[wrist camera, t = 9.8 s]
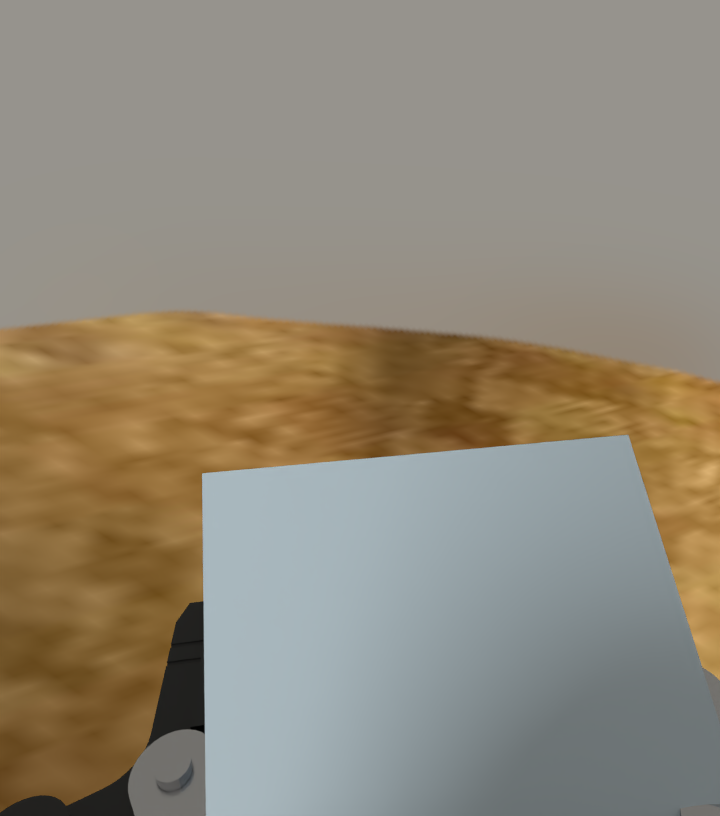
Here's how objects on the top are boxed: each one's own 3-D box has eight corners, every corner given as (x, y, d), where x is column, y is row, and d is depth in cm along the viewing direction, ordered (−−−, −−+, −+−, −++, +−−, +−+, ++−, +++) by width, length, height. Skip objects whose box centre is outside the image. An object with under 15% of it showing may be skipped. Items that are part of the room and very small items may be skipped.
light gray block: (500, 758, 15) (801, 980, 6) (274, 796, 14) (209, 1122, 5) (458, 532, 17) (627, 434, 8) (262, 554, 17) (201, 473, 7)
